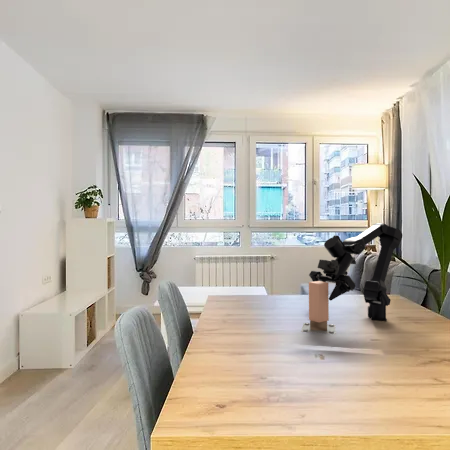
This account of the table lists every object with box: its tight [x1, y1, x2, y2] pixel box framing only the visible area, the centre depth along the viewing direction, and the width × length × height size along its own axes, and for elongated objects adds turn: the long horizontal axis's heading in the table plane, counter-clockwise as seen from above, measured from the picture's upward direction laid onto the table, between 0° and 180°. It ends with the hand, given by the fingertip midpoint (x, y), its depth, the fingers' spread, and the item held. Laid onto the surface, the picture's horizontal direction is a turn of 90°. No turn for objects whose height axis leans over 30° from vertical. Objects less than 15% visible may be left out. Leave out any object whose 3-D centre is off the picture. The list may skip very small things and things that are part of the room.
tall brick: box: [308, 281, 330, 322], centre depth 146 cm, size 5×5×14 cm
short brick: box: [309, 320, 328, 331], centre depth 146 cm, size 6×6×3 cm
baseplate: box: [300, 322, 337, 335], centre depth 146 cm, size 12×12×2 cm
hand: (320, 297), depth 147 cm, fingers open, 9 cm apart
